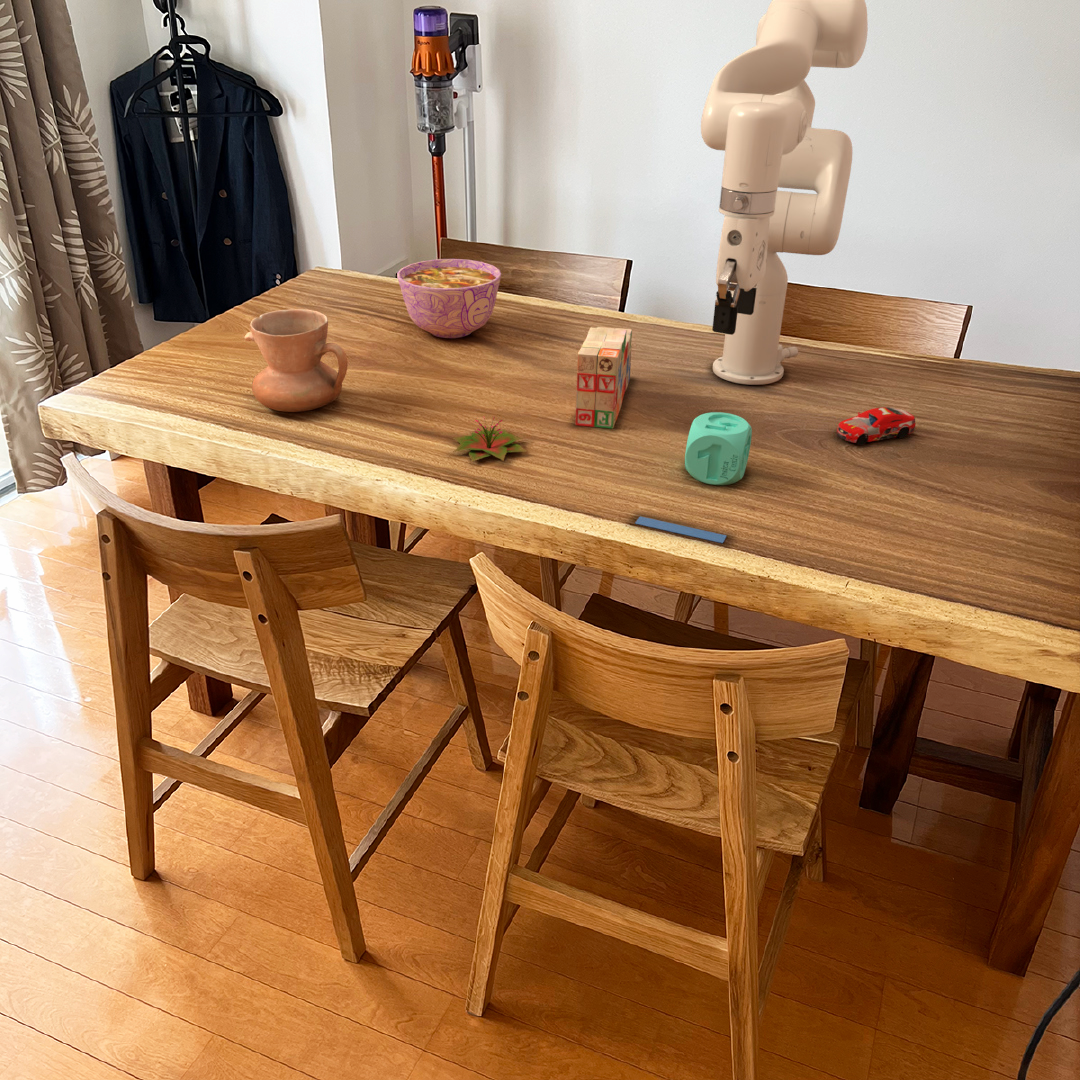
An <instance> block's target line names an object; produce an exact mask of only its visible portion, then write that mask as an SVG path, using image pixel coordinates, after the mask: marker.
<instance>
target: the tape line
mask: <svg viewBox="0 0 1080 1080" xmlns="http://www.w3.org/2000/svg"><path fill="white" fill-rule="evenodd" d="M634 524H635V525H639V526H643V527H648V528H652V529H656V530H661V531H666V532H670V533H675V534H679V535H683V536H688V537H693V538H696V539H702V540H706V541H710V542H715V543H719V544H724V542H725V540H726V539H727V535H726V534H721V533H717V532H712V531H707V530H703V529H698V528H695V527H690V526H686V525H682V524H681V525H680V524H677V523H673V522H672V523H671V522H667V521H663V520H658V519H655V518H651V517H650V518H649V517H645V516H639V517H638V518H637V519H636V521H635V523H634Z"/></svg>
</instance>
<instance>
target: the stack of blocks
mask: <svg viewBox="0 0 1080 1080" xmlns="http://www.w3.org/2000/svg"><path fill="white" fill-rule="evenodd" d="M632 336H633V329H632V328H624V327H622V328H621V327H608V326H607V327H605V326H597V327H593V326H591V327H590V328H589V330H588V332H587V335H586V338H585V340H583V343H582V345H581V346H580V349H579V350H578V352H577V368H576V369H577V373H576V405H575V406H576V407H575V423H574V424H575V426H580V427H581V426H582V427H590V428H593V427H595V428H602V429H614V427H615V424H616V421H617V420H618V417H619V414H620V412H621V408H622V403H623V400H624V396H625V392H626V391H627V389H628V386H629V382H630V379H631V365H632V351H633V350H632V349H633V347H632Z"/></svg>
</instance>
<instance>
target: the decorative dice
mask: <svg viewBox="0 0 1080 1080" xmlns="http://www.w3.org/2000/svg"><path fill="white" fill-rule="evenodd" d="M752 437H753V429H752V426H751V425H750V423H749V422H748V421H747V420H746V419H745V418H743V417H741V416H739V415H736V414H734V413H729V412H722V411H719V412H718V411H711V412H706V413H702V414H700V415H697V416H696V417H695V418H694V419H693V421H692V422H691V425H690V429H689V432H688V436H687V441H686V445H685V453H684V469H685V470H686V472H688V474H689V475H690V476H691V477H692V478H693V479H695V480H696V481H698V482H700V483H704V484H706V485H711V486H729V485H732V484H735V483H737V482H739V481H740V480H742V479H743V477H744V475H745V472H746V469H747V465H748V461H749V456H750V451H751V446H752Z"/></svg>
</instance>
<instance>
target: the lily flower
mask: <svg viewBox="0 0 1080 1080" xmlns="http://www.w3.org/2000/svg"><path fill="white" fill-rule="evenodd" d="M482 417H483V420H484V422H485V423H487V422H486V420H485V419H486V418H485V416H482ZM495 418H496V417H495V415H494V417H493V419H492V422H491V424H490V425H491V426H490V427H489V430H488V425H487V424H485V425H483V424H482V423H480V421H479V420H477V419H475V420H474V421H475V422H477V423H478V425H479V426H480V427H482V430H481V429H480V428H479V427H477V428H476V430H475V431H473V432H472V433H471V435H461V436H457V437H451V439H453V440H454V441H456V442H458V443H459V445H458V446H457V447H456V449H455V450H454V451H452V453H455V452H461V451H467V450H469V451H468V456H469V458H470V461H471V463H472V462H475V461H477V460H478V461H479V460H481V459H483V458H487V457H490V456H491V455H492V456H493V457H495V458H497V459H500V460H501V461H502V462H504V461H505V458H506V455H507V453H521V452H522V453H523V452H524V453H525V452H526V453H528V450H526V449H525V448H523V447H522V445H520V444H518V443H514V442H516V441H519V440H523V439H525V438H524V437H520V436H518V435H515V434H514V433H513V434H512V433H509V432H508V431H507V429H506V428H503V429H502V428H501V427H500V428H498V429H496V427H497V426H498V425H499V424H500V423H501V422H503V419H500V420H499V421H498V422H497V423H495V424H494V425H493V422H494V420H495Z"/></svg>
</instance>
